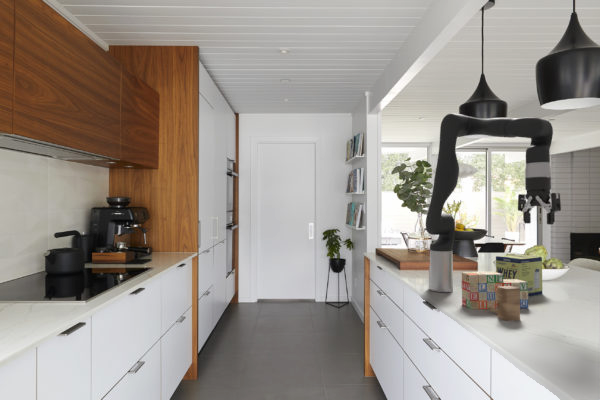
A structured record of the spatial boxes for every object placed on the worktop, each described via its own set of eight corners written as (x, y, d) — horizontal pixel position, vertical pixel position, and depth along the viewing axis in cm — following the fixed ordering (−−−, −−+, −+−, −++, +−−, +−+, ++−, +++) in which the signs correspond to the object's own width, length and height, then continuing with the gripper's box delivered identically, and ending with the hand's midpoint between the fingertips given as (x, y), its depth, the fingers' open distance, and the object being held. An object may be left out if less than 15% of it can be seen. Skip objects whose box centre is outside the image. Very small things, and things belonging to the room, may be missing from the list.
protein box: (495, 293, 160) (495, 256, 160) (518, 289, 167) (518, 253, 167) (519, 298, 150) (519, 258, 151) (543, 294, 158) (542, 256, 158)
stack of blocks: (517, 304, 142) (517, 270, 143) (528, 308, 136) (528, 273, 136) (461, 305, 141) (461, 271, 141) (470, 309, 135) (469, 274, 135)
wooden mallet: (483, 312, 130) (483, 283, 130) (494, 311, 132) (494, 282, 132) (507, 321, 120) (507, 289, 121) (520, 319, 122) (519, 288, 122)
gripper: (511, 177, 137) (512, 223, 136) (549, 174, 123) (550, 225, 123) (527, 178, 139) (528, 223, 139) (566, 175, 126) (566, 224, 125)
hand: (538, 223), depth 131 cm, fingers open, 8 cm apart
